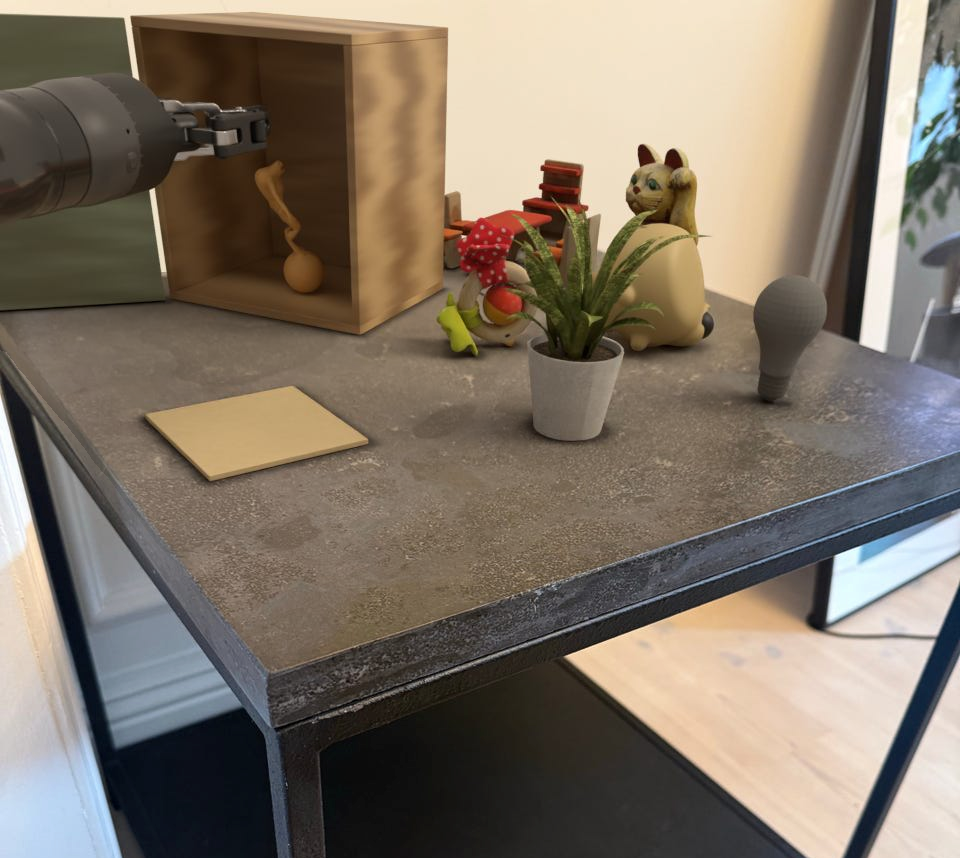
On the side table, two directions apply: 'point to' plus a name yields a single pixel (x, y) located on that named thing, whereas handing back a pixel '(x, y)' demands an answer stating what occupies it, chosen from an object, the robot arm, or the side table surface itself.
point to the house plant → (578, 327)
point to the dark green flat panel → (74, 231)
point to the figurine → (290, 233)
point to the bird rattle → (487, 268)
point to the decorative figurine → (664, 189)
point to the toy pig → (663, 291)
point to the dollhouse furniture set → (533, 218)
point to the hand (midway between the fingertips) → (217, 116)
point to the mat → (253, 432)
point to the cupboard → (306, 162)
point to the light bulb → (786, 329)
